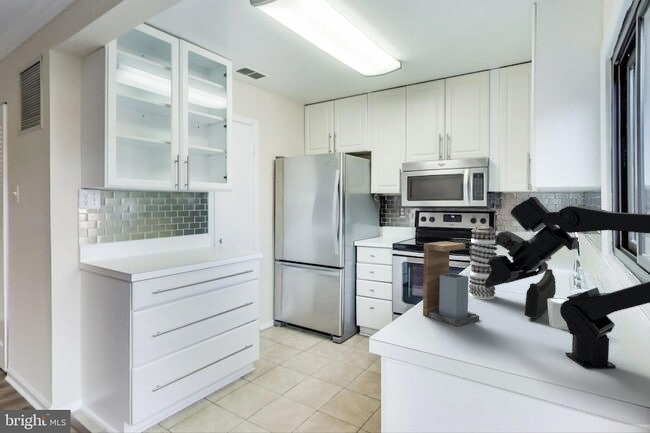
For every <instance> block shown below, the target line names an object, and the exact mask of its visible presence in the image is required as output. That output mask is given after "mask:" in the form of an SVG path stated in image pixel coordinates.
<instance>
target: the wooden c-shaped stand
mask: <svg viewBox="0 0 650 433" xmlns="http://www.w3.org/2000/svg"><path fill="white" fill-rule="evenodd" d="M465 249H466V243H462V242H453V241H436V242H435V241H434V242H427V243H423V279H422V280H423V286H422V288H423V290H422V292H423V294H422V295H423V296H422V316H425V317H428V318H431V319H434V320H437V321H439V322H443V323H446V324H448V325H451V326H455V327H457V328H459V327H461V326H464V325H467V324H471V323H473V322H477V321H479V320H480V315H478V314H477V313H475V312H471V311H468V317H467V318H464V319H461V320H457V319H453V318H450V317H447V316H444V315H441V314H439V296H440V275H444V274H449V273H450V252H451V251H458V250H465Z"/></svg>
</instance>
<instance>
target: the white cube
mask: <svg viewBox="0 0 650 433" xmlns="http://www.w3.org/2000/svg"><path fill="white" fill-rule="evenodd" d="M567 300H569V299H568V298H562V297H561V298H560V297H554V298H549V299H547V302H548V309H547V313H548V325H549V326H550V327H552V328H555V329H559V330H568V331H569V329H568V326H567V323H566V321H565V320H564V319H563V318H562V316H561V313H560V308H561V304H562V303H563V302H565V301H567Z"/></svg>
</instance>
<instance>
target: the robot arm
mask: <svg viewBox="0 0 650 433" xmlns="http://www.w3.org/2000/svg"><path fill="white" fill-rule="evenodd" d="M509 213H510V215H511V217H513V219H514V220H515V221H516V222H517V223H518V224H519V225H520V226H521V227H522V228H523V230H524V231H525V232H531V231H532V232H533V233H536V232H537V233H536V234H534V235H533V236H532V237H531V238H530V239H528V240H525V239H524V238H523V237H520V236H519V235H517V234H515V233H513V232H511V231H509V230H507V231H500V232H498V233H497V234H495V241H496V242H495V243H496V244H497V245H496V246H501V247H502V248H504V249H505V250H507V251H508V252H507V254H508V256H509V257H510V258H511V260H512V261H511V260H510V258H509V257H508V256H507V255H503V254H499V255H498V254H497V255H496V256H493V257H492V258H491V259H489V260H488V263H489V265H490V267H491V273H490V275H489V276H488V278H487V280H486V282H485V283H484V286H485V287H486V288H489V287H493V286H494V287H495V286H500V285H504V284H509V283H513V282H517V281H520V280H524V279H525V280H526V279H528V278H533V277H535V276H539V275H542V274H543V273H545V272H546V270H547V269H549V267H548V266H549V265H548V263H547V262H548V261H550V260H551V259H552V256H553V255H555V254H556V253H557V252H559V251H560V250H561V249H562V248H564V247H566V248H567V250H569V251H572V250H578V249H579V242H578V241H579V237H578V236H575V237H574V236H571V235H570V234H572V233H586V232H588V233H589V232H590V233H591V232H600V231H601V232H602V231H615V232H625V233H626V232H627V233H636V234H637V233H640V234H641V233H642V234H650V213H634V212H631V213H630V212H615V211H611V210H610V211H609V210H606V209H602V208H597V207H591V206H586V205H568V206H564V207H562V208H561V209H560V210H559V211H549V210H548V209H547V208H546V207H545V206H544V205H543V204H542V203H541V201H540V200H539V199H538V197H537V196H530V197H528V199H526V200H524V201H522V202H520V203H519V204H517V205H515V206H514V207H513V208H512V209H511V211H510V212H509ZM566 299H568V300H567V301H565V302H563V303H562V304H561V308H560V313H561V316H562V318H563V319H564V320H565V321H566V323H567V326H568V329H569V330H568V331H569V334H570V335H572V337H571V338H572V341H571V342H572V345H571V352H570V351H569V352H565V354H564V355H565V356H566V357H568V358H570V359H571V360H573V361H574V362H575V363H577V364H579V365H580V366H582V367H583V368H588V369H591V368H592V369H605V368H606V369H615V368H616V364H615V363H612V362H611V361H609V353H610V352H609V351H610V349H609V348H610V338H609V337H608V336H609V335H607V334H608V333H612V331H613V330H614V327H615V326H616V325H615V322H614V321H612V319H611V318H610V317H609V315H611V314H612V313H616V312H619V311H625V310H627V309H631V308H636V307H638V306H639V307H640V306H643V305H647V304H650V280H649V281H645V282H642V283H639V284H635V285H632V286H628V287H626V288H621V289H618V290H615V291H611V292H600V290H599V287H594V288H591V289H589V290H585V291H583V292H577V293H574V294H571V295H568V296H566Z"/></svg>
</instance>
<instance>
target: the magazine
mask: <svg viewBox="0 0 650 433" xmlns="http://www.w3.org/2000/svg"><path fill="white" fill-rule="evenodd" d="M543 273H544V274H543V275H542V277H541V279H540V280H539V281H538V282H536V283H535V282H534V283H533V282H532V283H530V284H529V287H528V289H527V290H526V296H525V304H524V305H525V306H524V307H525V308H524V316H525V317H528V318H531V319H538V318H539V317H541V316H542V315H543V314H544V313H545V312H546V311H548V302H547V299H549V298H555V295H556V289H557V288H556V277H555V275H554V274H553V269H552V268H548V269H547V270H546V271H545V272H543Z"/></svg>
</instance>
